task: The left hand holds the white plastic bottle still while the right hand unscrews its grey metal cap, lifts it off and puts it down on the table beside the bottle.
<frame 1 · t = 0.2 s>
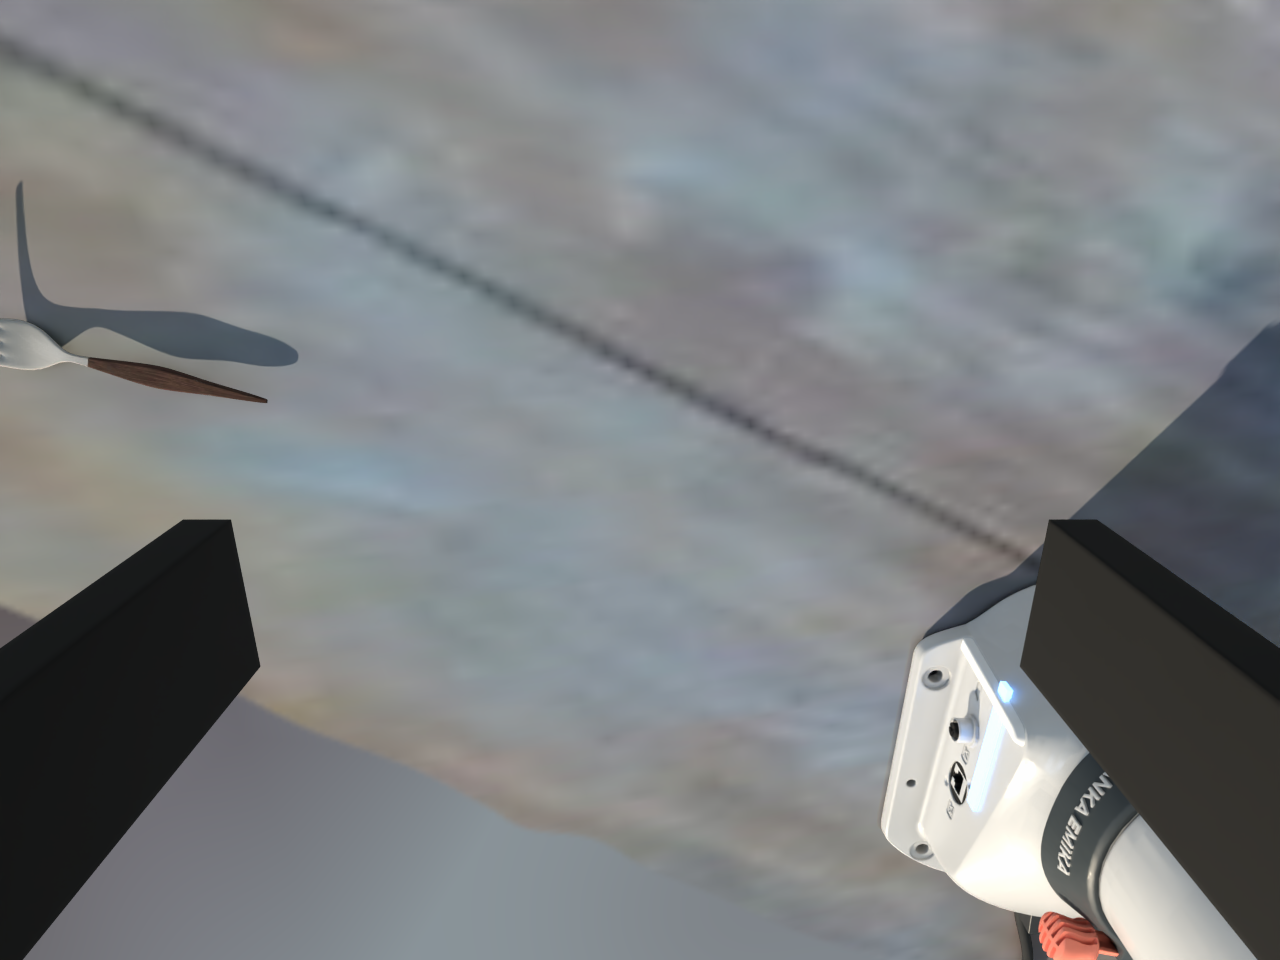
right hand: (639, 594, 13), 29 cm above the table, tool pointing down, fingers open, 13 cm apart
fork: (120, 364, 40), on the table
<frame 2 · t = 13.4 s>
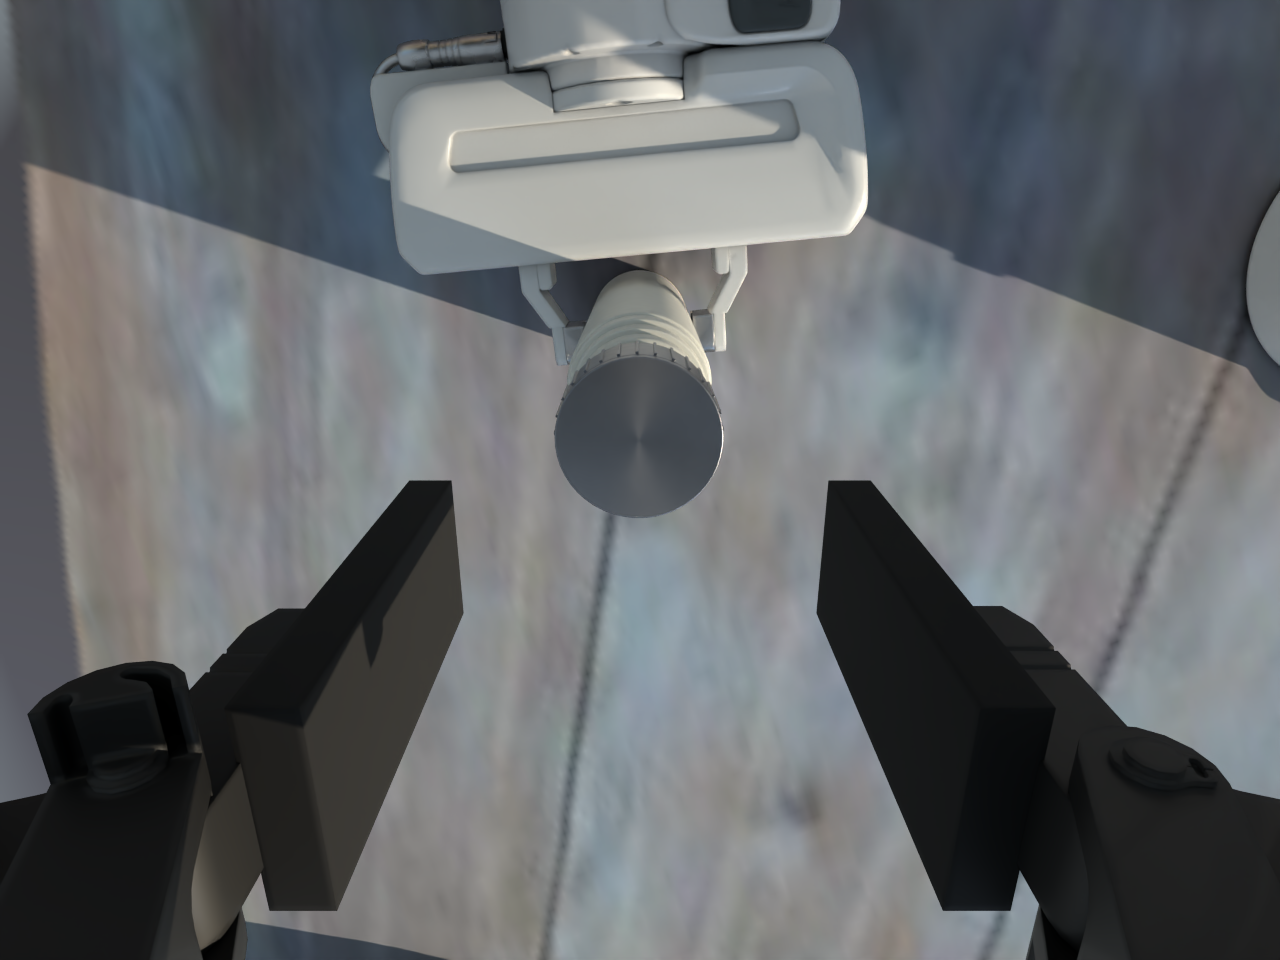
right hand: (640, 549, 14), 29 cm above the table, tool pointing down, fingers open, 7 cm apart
left hand: (642, 356, 36), fingers closed on bottle, 5 cm apart
bottle: (639, 317, 41), on the table, touching left hand
cap: (639, 437, 21), point 22 cm above the table, screwed on, not yet turned
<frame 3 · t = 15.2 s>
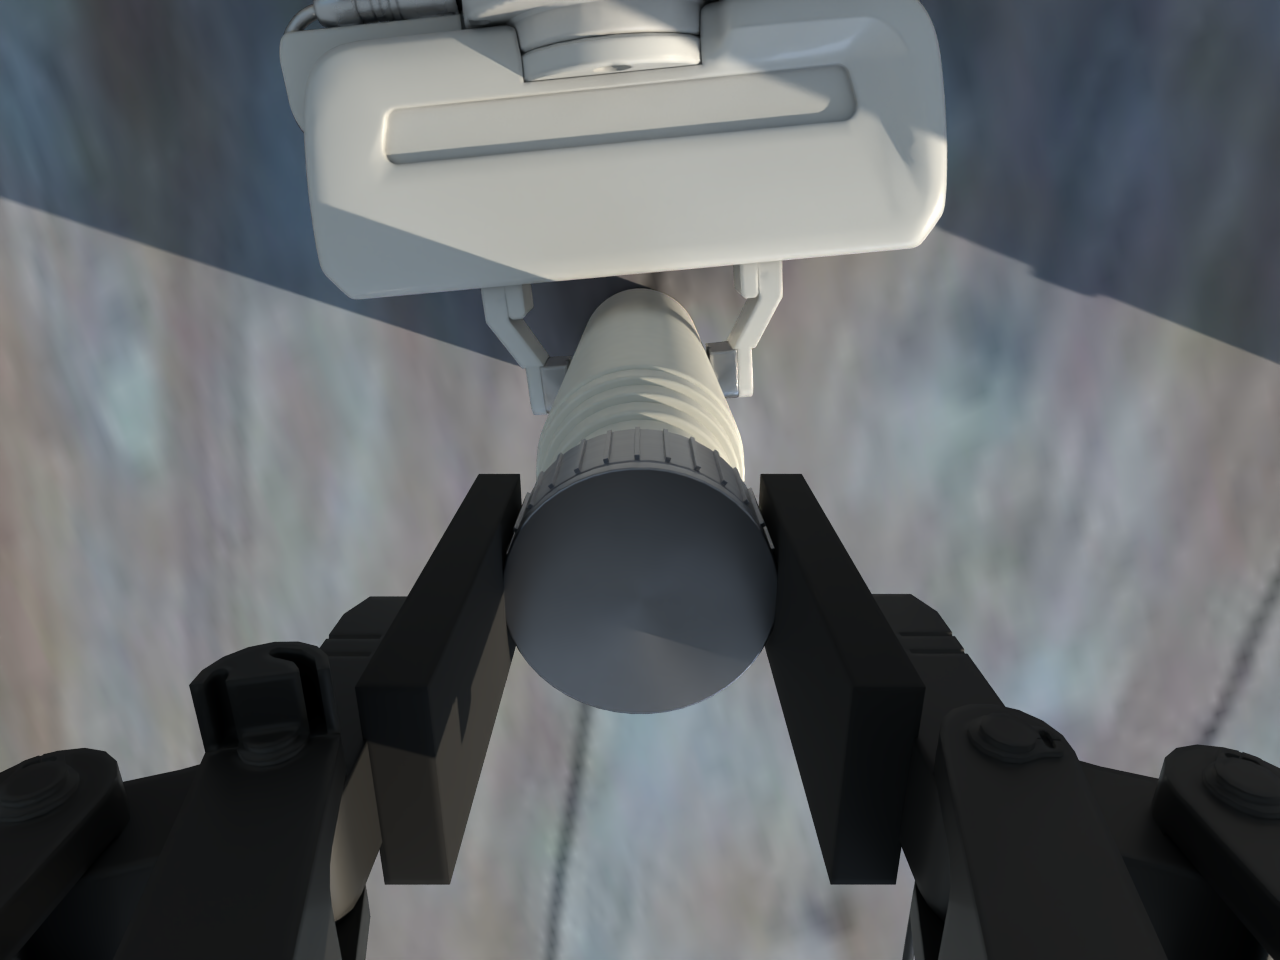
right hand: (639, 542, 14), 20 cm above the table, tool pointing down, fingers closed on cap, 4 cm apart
left hand: (643, 402, 28), fingers closed on bottle, 5 cm apart
bottle: (640, 347, 33), on the table, touching left hand
cap: (640, 590, 13), point 22 cm above the table, screwed on, not yet turned, touching right hand
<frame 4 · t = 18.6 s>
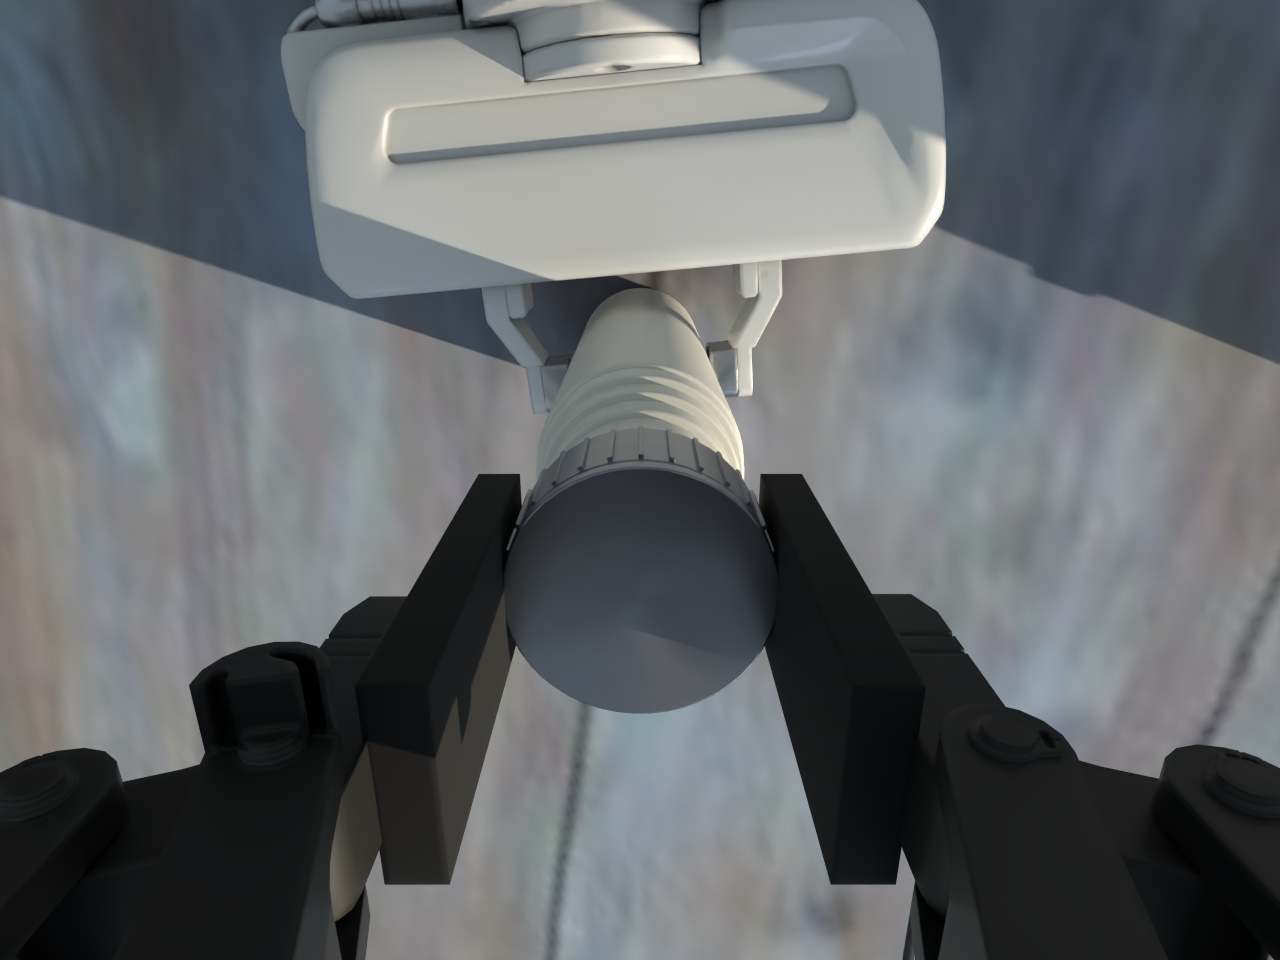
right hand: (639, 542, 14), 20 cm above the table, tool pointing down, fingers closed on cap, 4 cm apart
left hand: (643, 401, 28), fingers closed on bottle, 5 cm apart
bottle: (640, 346, 33), on the table, touching left hand
cap: (640, 589, 13), point 22 cm above the table, turned 98° so far, risen 0.1 cm, still on its thread, touching right hand
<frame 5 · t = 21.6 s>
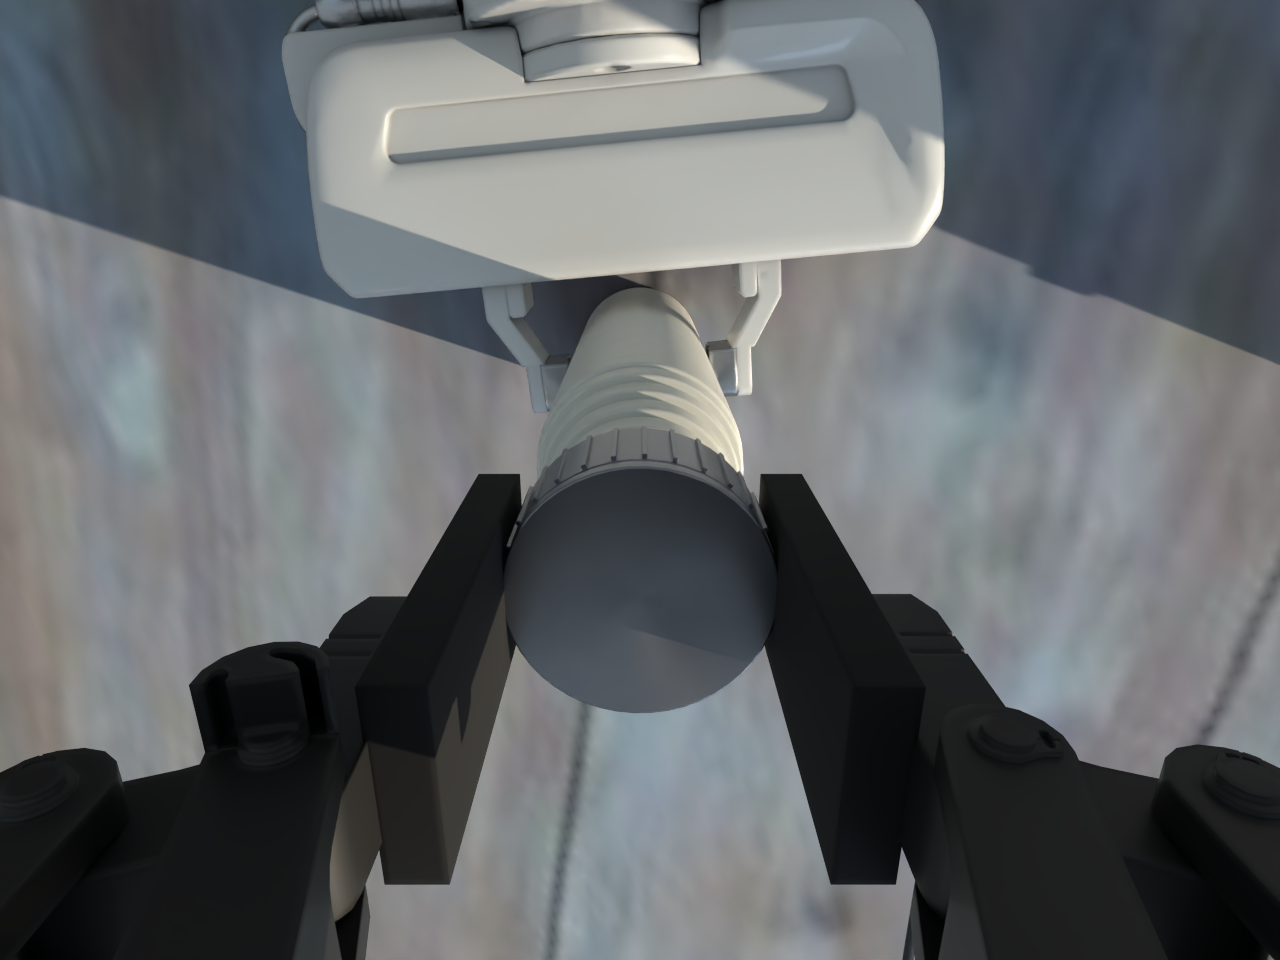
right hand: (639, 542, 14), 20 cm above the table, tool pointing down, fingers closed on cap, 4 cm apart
left hand: (643, 400, 28), fingers closed on bottle, 5 cm apart
bottle: (640, 345, 34), on the table, touching left hand
cap: (640, 589, 13), point 22 cm above the table, turned 196° so far, risen 0.2 cm, still on its thread, touching right hand
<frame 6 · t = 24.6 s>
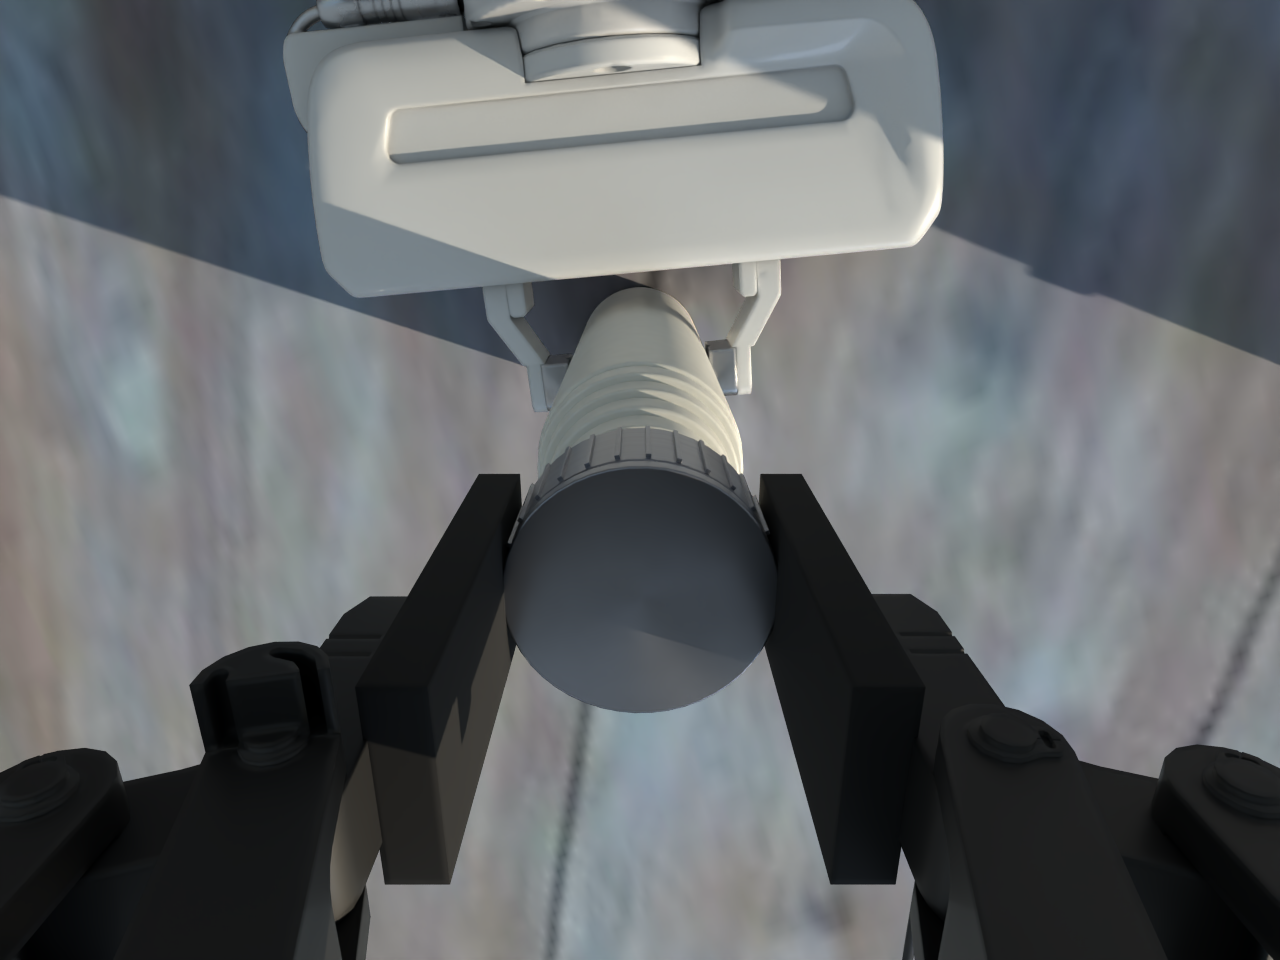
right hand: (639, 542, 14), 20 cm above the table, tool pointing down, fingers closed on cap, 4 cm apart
left hand: (643, 399, 28), fingers closed on bottle, 5 cm apart
bottle: (640, 345, 34), on the table, touching left hand
cap: (640, 589, 13), point 22 cm above the table, turned 294° so far, risen 0.3 cm, still on its thread, touching right hand
when the right hand's fingers open (1 cm above the table, at t = 32.9 s): cap stays where it is, point 2 cm above the table.
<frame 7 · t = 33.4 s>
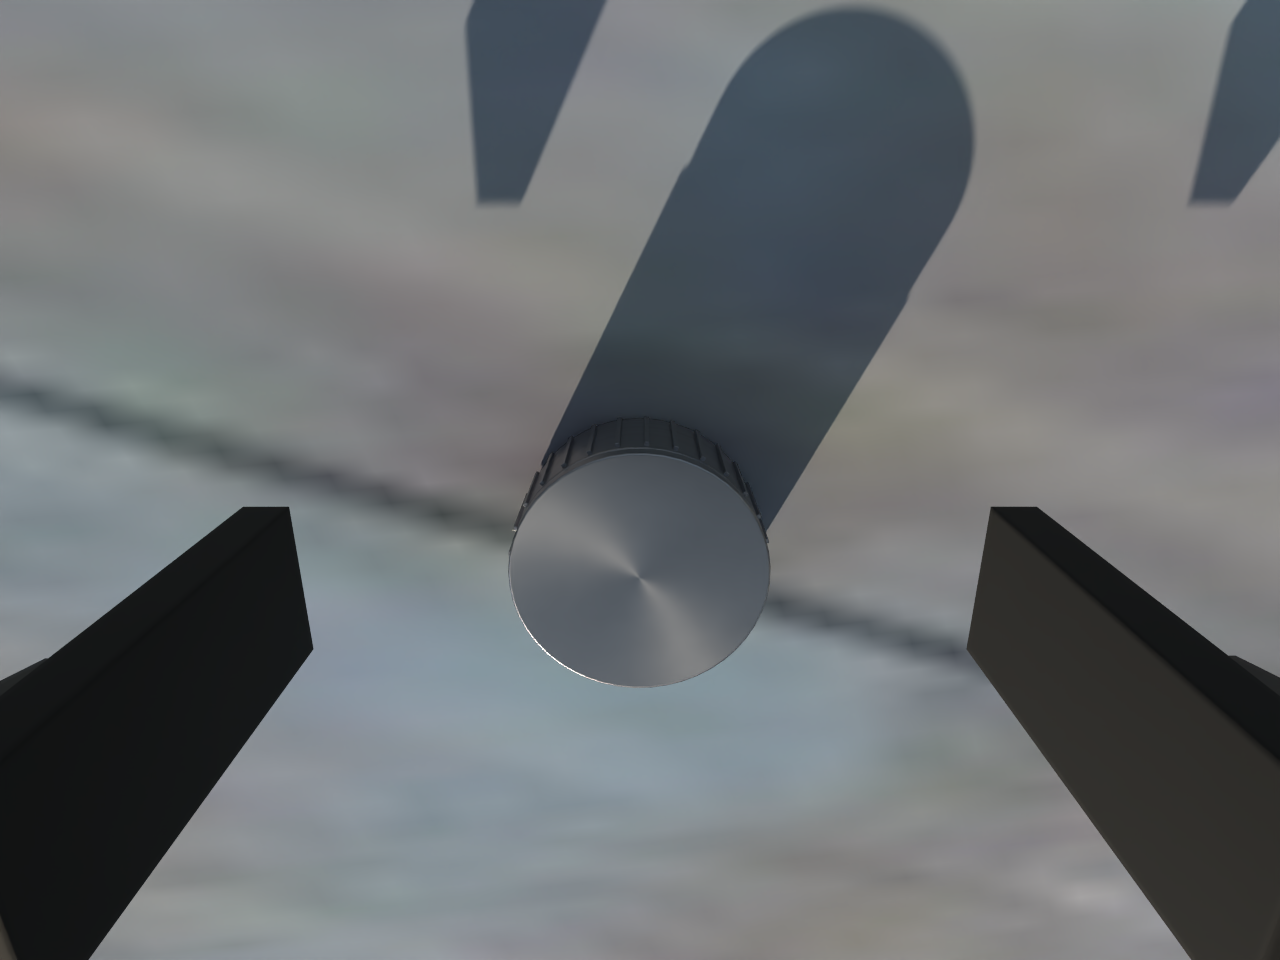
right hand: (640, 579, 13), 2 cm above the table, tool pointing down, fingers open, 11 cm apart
cap: (639, 569, 13), point 2 cm above the table, off its thread
when the left hand's fingers open (6 cm above the table, at t = 34.2 s): bottle stays where it is, on the table.
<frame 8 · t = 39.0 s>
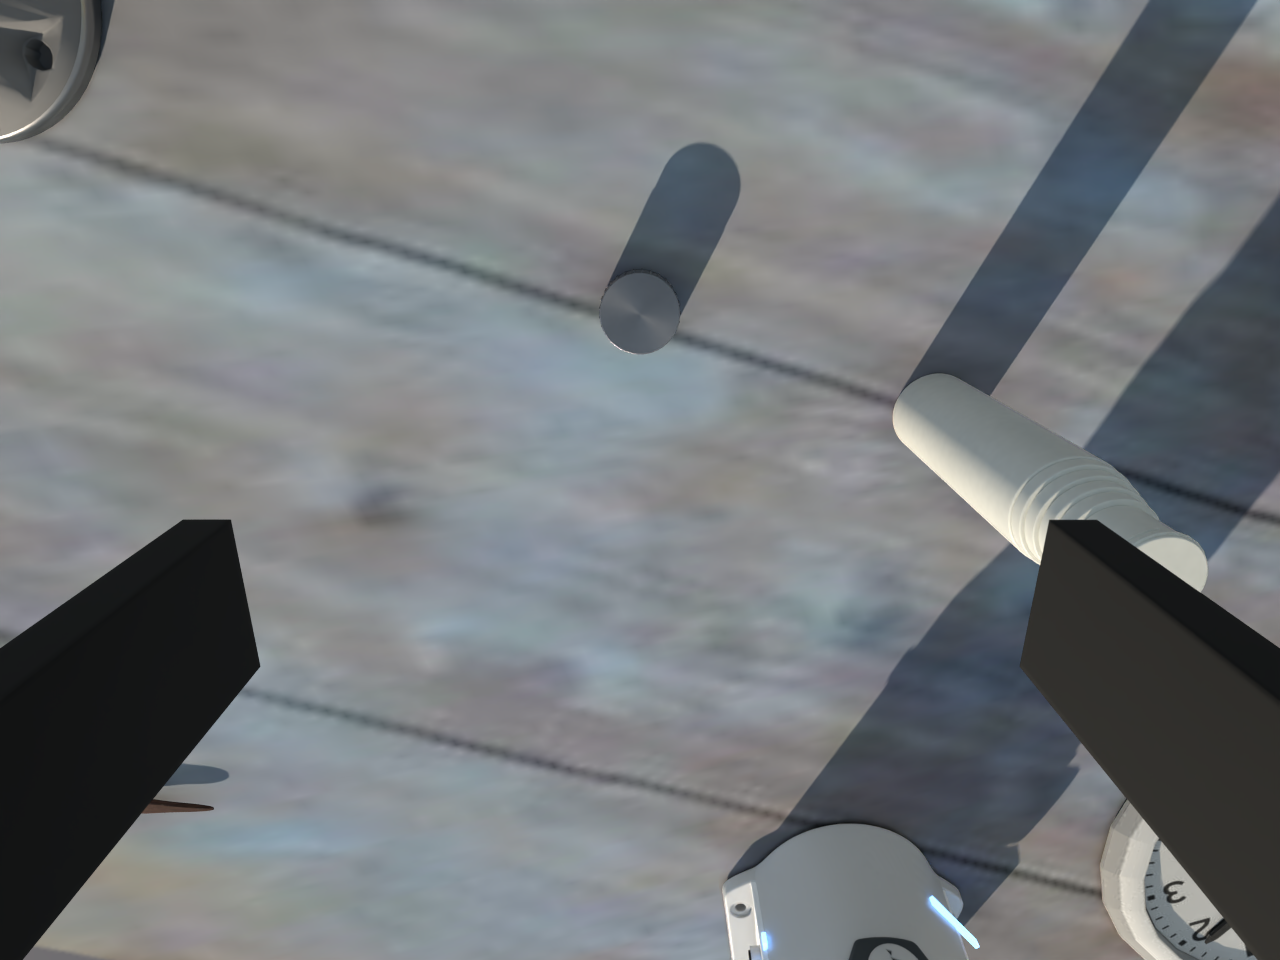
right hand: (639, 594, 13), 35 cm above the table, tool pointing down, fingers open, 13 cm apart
bottle: (933, 413, 47), on the table
fork: (111, 797, 58), on the table
cap: (639, 313, 43), point 2 cm above the table, off its thread
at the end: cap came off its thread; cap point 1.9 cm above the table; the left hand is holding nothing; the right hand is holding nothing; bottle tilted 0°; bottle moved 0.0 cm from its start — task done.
